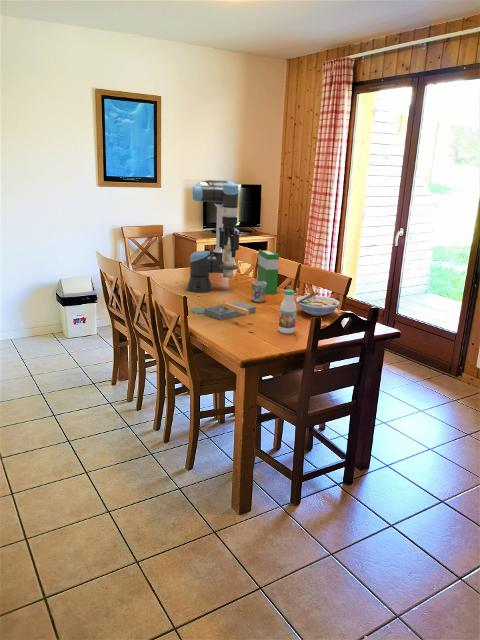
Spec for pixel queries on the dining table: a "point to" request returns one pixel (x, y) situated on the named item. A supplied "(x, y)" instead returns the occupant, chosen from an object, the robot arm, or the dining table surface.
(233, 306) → the clip
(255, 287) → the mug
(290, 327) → the milk bottle
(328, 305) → the ramen bowl
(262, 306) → the dining table surface
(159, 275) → the dining table surface
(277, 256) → the green cereal box
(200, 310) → the pad
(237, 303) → the socket board
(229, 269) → the plug
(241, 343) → the dining table surface
